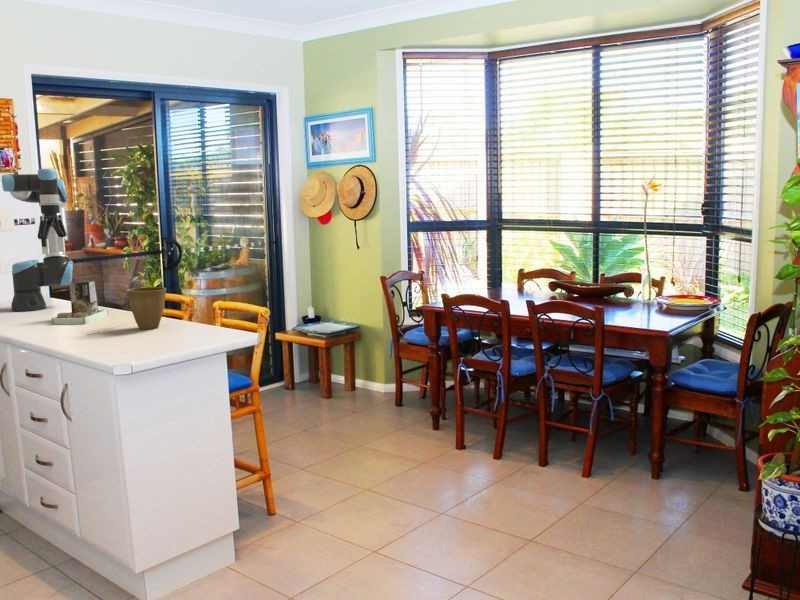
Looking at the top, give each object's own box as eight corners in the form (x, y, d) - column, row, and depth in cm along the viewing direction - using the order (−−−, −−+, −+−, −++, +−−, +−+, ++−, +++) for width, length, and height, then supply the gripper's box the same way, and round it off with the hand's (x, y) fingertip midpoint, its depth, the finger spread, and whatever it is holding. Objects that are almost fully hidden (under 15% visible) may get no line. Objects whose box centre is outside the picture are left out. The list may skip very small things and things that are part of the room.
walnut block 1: (61, 322, 318) (60, 312, 318) (71, 321, 319) (70, 312, 318) (58, 323, 314) (57, 314, 314) (68, 323, 315) (67, 314, 314)
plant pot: (156, 331, 297) (154, 291, 295) (122, 331, 300) (119, 291, 298) (175, 325, 311) (172, 286, 309) (142, 324, 314) (139, 286, 312)
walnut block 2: (80, 321, 318) (79, 312, 318) (88, 322, 317) (87, 312, 317) (73, 323, 315) (72, 313, 314) (81, 323, 313) (80, 314, 313)
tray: (77, 318, 335) (77, 310, 334) (108, 317, 334) (108, 309, 334) (52, 326, 313) (51, 318, 313) (85, 326, 312) (84, 318, 312)
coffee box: (99, 316, 330) (96, 280, 328) (92, 319, 324) (89, 281, 322) (79, 317, 331) (76, 280, 329) (71, 319, 325) (68, 282, 322)
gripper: (55, 204, 344) (59, 250, 347) (25, 205, 319) (30, 255, 322) (72, 203, 344) (75, 250, 347) (43, 204, 319) (47, 255, 322)
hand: (53, 253), depth 335 cm, fingers open, 13 cm apart
